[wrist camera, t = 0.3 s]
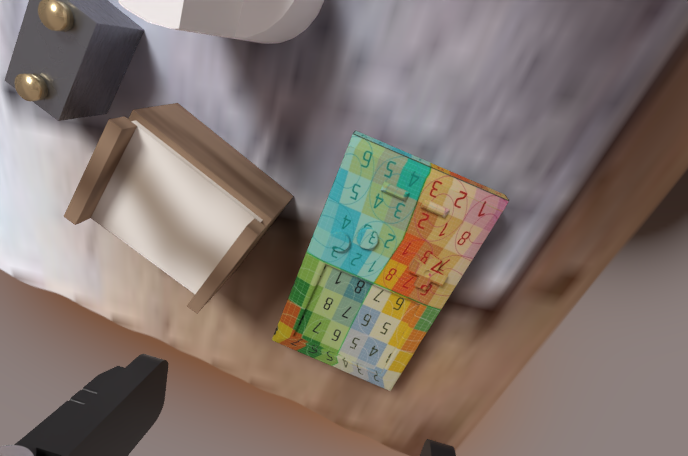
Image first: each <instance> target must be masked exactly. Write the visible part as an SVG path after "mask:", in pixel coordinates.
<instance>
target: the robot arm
mask: <svg viewBox="0 0 688 456" xmlns="http://www.w3.org/2000/svg"><path fill="white" fill-rule="evenodd" d="M167 372H168V362H167V361H166V360H162V359H159V358H156V357H152V356H149V355H146V354H141V355H139V356H138V357H137V358H136V359H135V360H133V361H132V362H131V363H130V364H129V365H128V366H127V367H126V368H123V367H120V366H117V367H114V368H112V369H110V370H108V371H106V372H104V373H102V374H100V375H98V376H97V377H95V378H94V379H93V380H92V381H91V382H89V383H88V384H87V385H86V386H85V387H84V388H83V390H80V391H79V392H77V393H76V394H75V395H74V396H73V397H71V399H70V401H67V402H65V403H64V404H63V405H62V406H61V407H59V408H58V409H57V410H56V411H55V412H53V413H52V414H51V415H50V416H49V417H47V418H46V419H45V420H44V421H43V422H41V423H40V424H39V425H38V426H37V427H35V428H34V429H33V430H32V431H31V432H29V433H28V434H27V435H26V436H25V437H23V438H22V439H21V440H20V441H19V442H17V443H16V444H15V445H6V446H0V456H128V455H129V453H130V452H131V451H132V450H133V449H134V447H135V446H136V445H137V444H138V442H139V441H140V440H141V439H142V438H143V436H144V435H145V434H146V433H147V432H148V430H149V429H150V428H151V426H152V425H153V424H154V423H155V421H156V420H157V418H158V417H159V414H160V412H161V410H162V408H163V404H164V399H165V391H166V382H167ZM420 456H456V454H455V450H454V448H453V447H452V446H449V445H446V444H442V443H439V442H436V441H432V440H429V439H427V440H426V441H425V443H424V446H423V449H422V452H421V454H420Z"/></svg>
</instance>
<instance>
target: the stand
mask: <svg viewBox="0 0 688 456" xmlns="http://www.w3.org/2000/svg"><path fill="white" fill-rule="evenodd" d="M293 197H294V196H293V195H291V194H290V193H289V192H288V191H286V190H285V189H284V188H283V187H281V186H280V185H279V184H278V183H277V182H275V181H274V180H273V179H272V178H270V177H269V176H268V175H267V174H265V173H264V172H263V171H262V170H260V169H259V168H258V167H257V166H255V165H254V164H253V163H252V162H250V161H249V160H248V159H247V158H245V157H244V156H243V155H242V154H240V153H239V152H238V151H237V150H235V149H234V148H233V147H232V146H230V145H229V144H228V143H227V142H225V141H224V140H223V139H222V138H221V137H219V136H218V135H217V134H216V133H214V132H213V131H212V130H211V129H209V128H208V127H207V126H206V125H204V124H203V123H202V122H201V121H199V120H198V119H197V118H196V117H194V116H193V115H192V114H191V113H189V112H188V111H187V110H186V109H184V108H183V107H182V106H181V105H179V104H178V103H175V104H168V105H161V106H155V107H148V108H141V109H135V110H132V112H131V114H130V116H129V118H126V117H119V118H113V119H109V120H108V122H107V124H106V127H105V129H104V131H103V133H102V135H101V137H100V139H99V142H98V144H97V146H96V148H95V150H94V152H93V155H92V157H91V159H90V161H89V163H88V165H87V167H86V170H85V172H84V174H83V176H82V178H81V180H80V182H79V185H78V187H77V189H76V191H75V193H74V195H73V197H72V200H71V202H70V204H69V206H68V208H67V210H66V212H65V215H64V217H65V218H66V219H68V220H69V221H70V222H72V223H73V224H75V225H76V224H78V223H81V222H83V221H85V220H87V219H89V218H92V219H93V220H94V221H96V222H97V223H98V224H100V225H101V226H102V227H104V228H105V229H106V230H108V231H109V232H111V233H112V234H113V235H115V236H116V237H117V238H119V239H120V240H121V241H123V242H124V243H126V244H127V245H128V246H130V247H131V248H132V249H134V250H135V251H136V252H138V253H139V254H140V255H142V256H143V257H145V258H146V259H147V260H149V261H150V262H151V263H153V264H154V265H155V266H157V267H158V268H160V269H161V270H162V271H164V272H165V273H166V274H168V275H169V276H170V277H172V278H173V279H174V280H176V281H177V282H179V283H180V284H181V285H183V286H184V287H185V288H187V289H188V290H189V291H191V292H192V293H193V294H195V295H194V297H193V298H192V299H191V301H190V302H189V303H188V305H187V307H188V308H190V309H191V310H193V311H194V312H195V313H198V312H199V311H200V310H201V309H202V308H203V307H204V305H205V304H206V303H207V302H208V301H209V300H210V299H211V298H212V297H213V296H214V294H215V293H216V292H217V291H218V290H219V289H220V288H221V287H222V285H223V284H224V283H225V282H226V281H227V280H228V279H229V277H230V276H231V275H232V274H233V273H234V272H235V270H236V269H237V268H238V267H239V265H240V264H241V263H242V262H243V260H244V259H245V258H246V256H247V255H248V254H249V253H250V251H251V250H252V249H253V248H254V246H255V245H256V244H257V242H258V241H259V240H260V239H261V237H262V236H263V235H264V234H265V232H266V231H267V230H268V228H269V227H270V226H271V225H272V223H273V222H274V221H275V219H276V218H277V217H278V216H279V214H280V213H281V212H282V211H283V209H284V208H285V207H286V205H287V204H288V203H289V202H290V200H291V199H292V198H293Z"/></svg>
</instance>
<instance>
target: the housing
mask: <svg viewBox="0 0 688 456" xmlns="http://www.w3.org/2000/svg"><path fill="white" fill-rule="evenodd" d="M143 31H144V30H143V29H142V28H141V27H140V26H139V25H137V24H136V23H135V22H134V21H132V20H131V19H130V18H129V17H127V16H126V15H125V14H124V13H122V12H121V11H120V10H119V9H118V8H116V7H115V6H114V5H113V4H111V3H110V2H109V1H108V0H29V2H28V6H27V9H26V12H25V16H24V19H23V22H22V25H21V29H20V32H19V35H18V38H17V42H16V45H15V48H14V51H13V55H12V58H11V61H10V65H9V68H8V71H7V74H6V78H5V81H6V82H7V83H9V84H10V85H11V86H13V87H14V88H15V89H16V91H17V92H18V94H19V95H20V96H21V97H22V98H23V99H25V100H27V101H33V102H34V103H35V104H37V105H38V106H39V107H41V108H42V109H43V110H45V111H46V112H47V113H49V114H50V115H51V116H53V117H54V118H55V119H57V120H58V121H61V120H68V119H75V118H81V117H88V116H95V115H102V114H107V112H108V110H109V107H110V105H111V103H112V101H113V98H114V96H115V94H116V92H117V89H118V87H119V85H120V83H121V81H122V78H123V76H124V74H125V72H126V69H127V67H128V65H129V63H130V60H131V58H132V56H133V54H134V52H135V49H136V47H137V45H138V43H139V40H140V38H141V36H142V34H143Z"/></svg>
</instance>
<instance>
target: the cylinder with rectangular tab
mask: <svg viewBox="0 0 688 456" xmlns="http://www.w3.org/2000/svg"><path fill="white" fill-rule="evenodd" d="M323 2H324V0H119V3H120V4H121V5H122V6H123V7H124V8H125V9H126V10H128V11H130V12H131V13H133V14H135V15H136V16H138V17H140V18H141V19H143V20H145V21H147V22H149V23H152V24H156V25H160V26H163V27H167V28H170V29H176V30H182V31H188V32H195V33H201V34H207V35H213V36H219V37H226V38H232V39H238V40H244V41H251V42H257V43H263V44H271V43H282V42H284V41H287V40H290V39H293V38H295V37H296V36H298V35H299V34H300V33H302V32H303V31H305V30H306V29H307V28H308V27H309V26H310V24H311V23H312V22H313V21H314V19H315V18H316V17H317V15H318V14H319V11H320V9H321V7H322V5H323Z"/></svg>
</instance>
